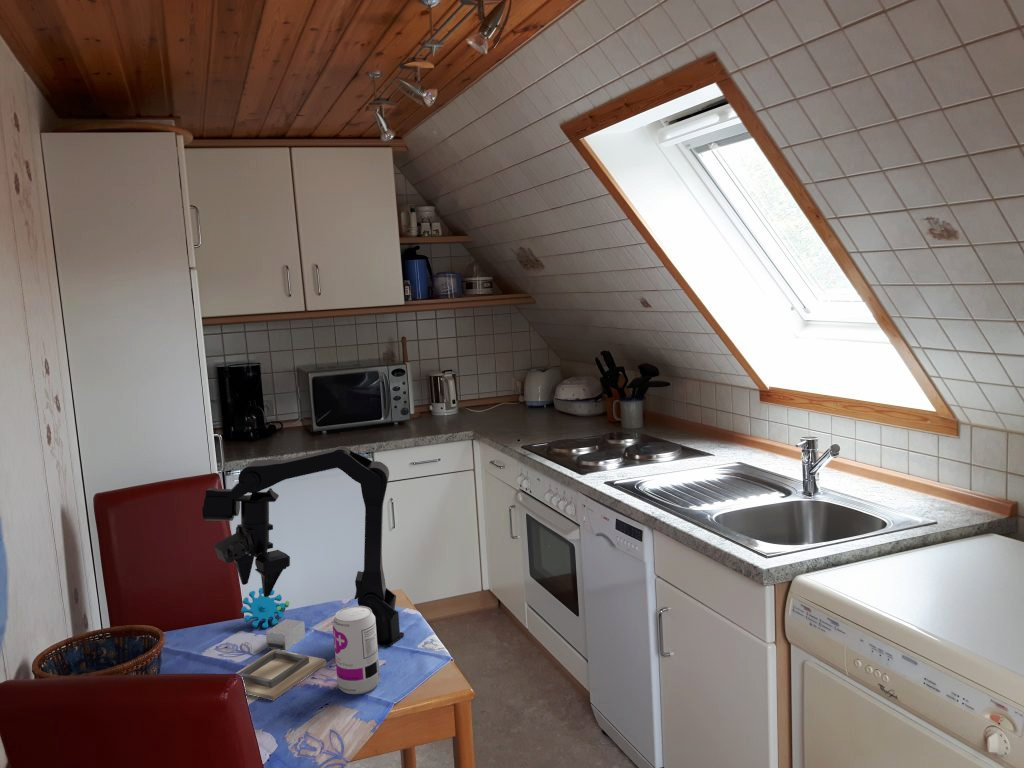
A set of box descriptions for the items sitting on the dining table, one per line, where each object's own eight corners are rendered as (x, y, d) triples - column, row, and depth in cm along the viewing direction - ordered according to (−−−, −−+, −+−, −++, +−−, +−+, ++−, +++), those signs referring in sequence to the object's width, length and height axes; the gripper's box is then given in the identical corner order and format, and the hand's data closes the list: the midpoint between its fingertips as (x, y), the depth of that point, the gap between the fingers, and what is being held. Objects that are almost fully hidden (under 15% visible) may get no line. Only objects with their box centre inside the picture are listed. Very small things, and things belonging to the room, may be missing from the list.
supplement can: (345, 700, 158) (338, 625, 156) (333, 682, 165) (327, 610, 163) (385, 688, 162) (380, 615, 160) (372, 671, 169) (367, 601, 167)
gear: (243, 628, 189) (240, 588, 195) (239, 639, 193) (236, 599, 199) (292, 623, 194) (288, 584, 200) (287, 634, 198) (283, 595, 204)
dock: (326, 663, 173) (325, 654, 173) (273, 701, 159) (272, 690, 159) (274, 653, 179) (273, 643, 179) (219, 688, 165) (218, 677, 165)
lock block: (306, 638, 187) (304, 621, 186) (285, 652, 180) (283, 635, 179) (288, 635, 188) (286, 618, 188) (266, 649, 182) (265, 632, 181)
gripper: (198, 517, 178) (199, 587, 180) (242, 538, 165) (242, 613, 167) (246, 508, 186) (246, 575, 188) (291, 527, 173) (291, 599, 175)
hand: (255, 590), depth 179 cm, fingers open, 9 cm apart
